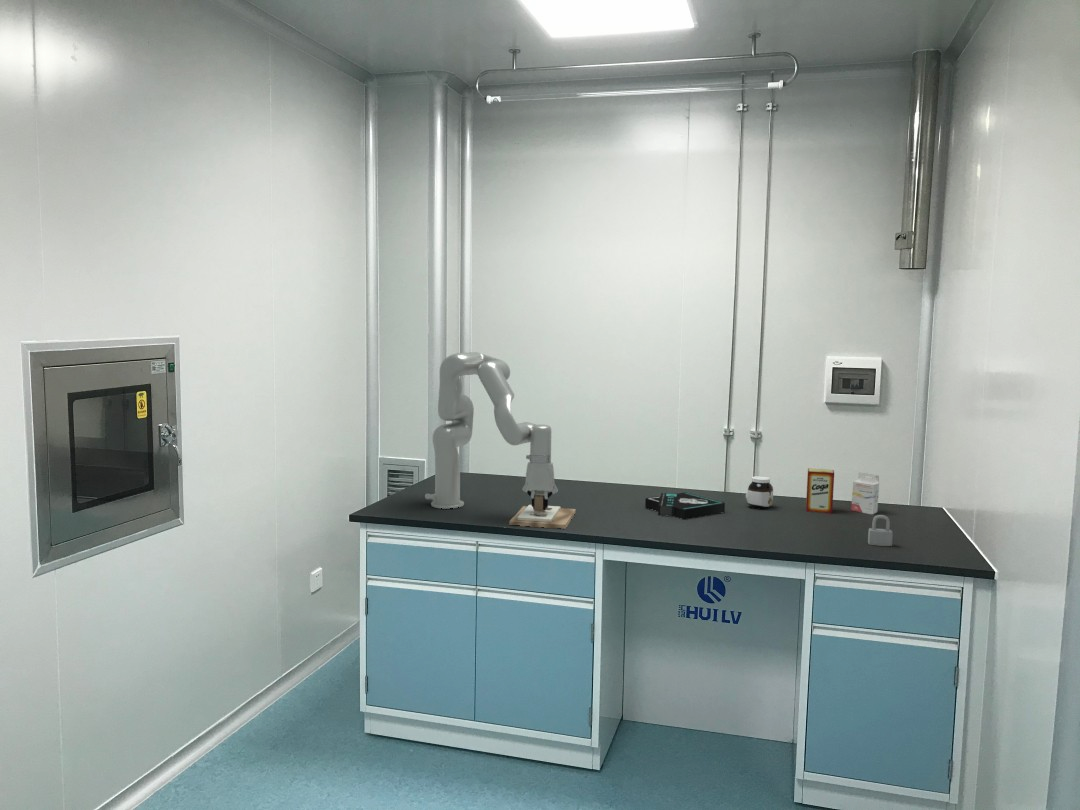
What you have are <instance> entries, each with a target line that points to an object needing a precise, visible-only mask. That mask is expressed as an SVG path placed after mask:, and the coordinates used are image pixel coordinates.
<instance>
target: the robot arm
mask: <svg viewBox="0 0 1080 810" xmlns="http://www.w3.org/2000/svg"><path fill="white" fill-rule="evenodd" d="M473 375H476V376H478V378H479V380H480V382H481V384H482V386H483V387H484V390H485V391H486V393H487V395H488V397H489V399H490V401H491V403H492V405H493V415H494V421H495V425H496V427H497V429H498V430H499V432H500V434H501V436H502V438H503V439H504V440H505V442H506V443H508V444H509V445H511V446H519V445H520V446H521V445H524V444H528V443H530V444H529V445H530V446H529V447H530V451H529V454H526V456H525V459H527V460H528V463H527V465H526V473H525V482H524V485H523V487H522V491H523V492H524V493H526V494H528V496H529V497H530V499H531V505H532V507H533V510H534V500H535V496H536V495H537V492H543V494H544V499H543V510H546V507H548V506H549V498H551V497H552V495H554V494H556V493H558V492H559V489H558V487H557V485H556V483H555V469H554V464H553V462H552V427H551V426H550V425H548V424H536V423H532V422H528V421H527V422H524V421H523V422H519V423H518V422H516V419H515V418H514V416H513V414H512V410H511V404H512V402H513V400H514V398H515V393H514V392H513V389H512V388H511V386H510V384H509V383H508V382H509V381H507V380H508V379H509V378H510V375H511V369H510V366H509V364H508V363H506V362H505V361H504V360H502V359H499V358H497V357H492V356H490V355H487V354H484V353H481V352H477V351H475V352H474V351H472V352H457V353H454V354H450V355H448V356H446V357H445V358H444V359H443V360H442V362H441V364H440V367H439V389H438V401H437V402H438V403H437V413H438V416H439V418H440V419H441V420H442V421H444V422H451V423H446V424H442V425H439V426H437V427H436V428H435V430H434V431H433V433H432V445H433V450H434V467H435V468H434V477H435V478H434V488H435V489H434V493H425V495H424V498H425V500H427V501H428V500H431V502H430V505H431V507H432V508H435V509H441V508H442V509H444V510H446V509H447V510H448V509H449V510H451V509H450V508H453V509H459V508H462V507H463V506H464V504H465V502H464V501H463V500H461V460H460V459H461V458H460V454H459V451H458V448H459V447H462V446H466V445H467V444H469V442H470V441H471V440H472V435H473V428H474V426H473V425H474V413H475V412H474V411H475V409H474V403H473V401H472V399H471V397H469V396H468V395H466V394H462V390H463V388H462V387H463V385H462V381H461V377H462V376H473ZM458 507H459V508H458Z"/></svg>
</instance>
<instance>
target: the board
mask: <svg viewBox="0 0 1080 810" xmlns="http://www.w3.org/2000/svg"><path fill="white" fill-rule="evenodd" d="M526 508H527V505H523V506H522V507H521V508H520V509H519V510H518V511H517V513H516V514H515V515H513V517H512V518H511V519H510V520H509V521H508V523H509V525H520V526H519V527H525V526H530V527H529V528H541V527H544V528H545V529H557V528H561V530H566V529H567V528H566V527H568V526H569V524H570V523H571V521H572V520H573V519H574V517H575V515H576V512H577V511H576V510H577V509H575V508H564V507H561V509H560V511H559V512H558V513H557V515H556V516H555V517H554V519H553V520H552V522H540V521H524V520H518V516H519V515H520V514H521V513H522V512H523V511H524V510H525V509H526ZM547 508H548V507H546V509H547ZM574 514H575V515H574ZM534 515H536V516H538V517H541V515H543V512H542V511H535V512H534ZM571 519H572V520H571ZM509 525H508V526H509ZM544 528H543V529H544Z"/></svg>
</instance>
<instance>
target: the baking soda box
mask: <svg viewBox="0 0 1080 810" xmlns="http://www.w3.org/2000/svg"><path fill="white" fill-rule="evenodd" d="M806 477H807V479H806V480H807V481H806V499H805V502H806V503H805V512H809V511H815V512H814V513H821V512H824V513H825V514H833V508H834V507H833V506H834V505H833V503H834V486H835V485H834V483H835V470H834V469H827V468H809V467H808V468H807V476H806Z"/></svg>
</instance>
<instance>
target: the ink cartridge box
mask: <svg viewBox="0 0 1080 810" xmlns="http://www.w3.org/2000/svg"><path fill="white" fill-rule="evenodd" d="M857 474H858V478H857V479H856V480H853V481H852V493H851V494H852V496H851V508H850V509H851V511H852V512H857V513H862V514H868V515H874V514H875V515H876V514H877V513H878V508H879V492H880V476H879V474H873V473H868V472H867V473H866V472H861V471H860V472H858V473H857Z"/></svg>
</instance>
